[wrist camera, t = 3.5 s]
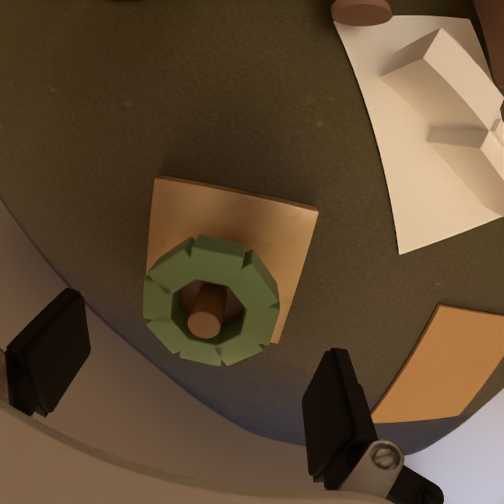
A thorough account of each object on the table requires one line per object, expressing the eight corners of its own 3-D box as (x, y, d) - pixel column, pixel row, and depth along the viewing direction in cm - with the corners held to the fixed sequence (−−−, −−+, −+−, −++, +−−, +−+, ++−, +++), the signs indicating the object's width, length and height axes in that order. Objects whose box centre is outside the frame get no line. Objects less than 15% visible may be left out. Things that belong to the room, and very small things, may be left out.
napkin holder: (513, 211, 15) (562, 236, 10) (399, 257, 17) (442, 302, 12) (468, 17, 10) (517, -2, 5) (329, 21, 12) (357, -24, 7)
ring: (151, 330, 15) (142, 348, 13) (158, 225, 13) (145, 236, 11) (260, 353, 15) (259, 374, 14) (289, 252, 13) (293, 267, 11)
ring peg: (150, 305, 19) (112, 370, 13) (161, 174, 16) (105, 198, 10) (277, 333, 20) (281, 407, 14) (315, 206, 16) (345, 248, 10)
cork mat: (364, 420, 24) (365, 423, 23) (437, 303, 19) (440, 306, 18) (457, 413, 24) (458, 415, 24) (522, 317, 19) (524, 319, 19)
